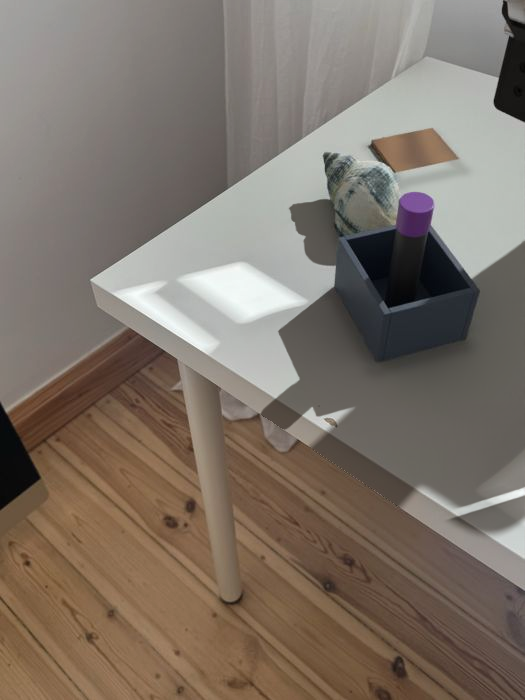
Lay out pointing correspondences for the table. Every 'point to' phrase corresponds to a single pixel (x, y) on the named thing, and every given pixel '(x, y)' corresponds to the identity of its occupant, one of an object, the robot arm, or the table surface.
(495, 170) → the table surface
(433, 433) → the table surface
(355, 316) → the bin
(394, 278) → the marker
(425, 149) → the coaster
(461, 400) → the table surface
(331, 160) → the seashell
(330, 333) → the table surface
